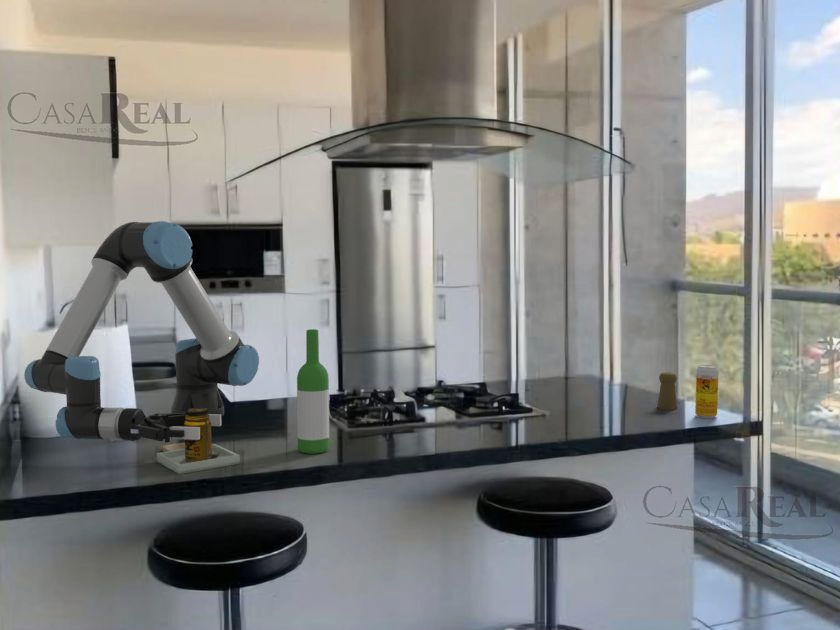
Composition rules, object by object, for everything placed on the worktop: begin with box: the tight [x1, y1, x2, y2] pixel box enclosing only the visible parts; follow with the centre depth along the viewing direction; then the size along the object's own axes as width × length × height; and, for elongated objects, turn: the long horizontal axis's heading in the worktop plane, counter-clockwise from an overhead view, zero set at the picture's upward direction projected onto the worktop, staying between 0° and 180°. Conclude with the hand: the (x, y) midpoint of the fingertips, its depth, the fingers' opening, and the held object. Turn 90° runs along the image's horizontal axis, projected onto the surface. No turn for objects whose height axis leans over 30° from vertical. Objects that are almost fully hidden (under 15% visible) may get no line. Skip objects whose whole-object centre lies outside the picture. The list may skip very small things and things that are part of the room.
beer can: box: [694, 364, 720, 419], centre depth 248 cm, size 6×6×15 cm
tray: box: [156, 443, 241, 475], centre depth 197 cm, size 15×14×2 cm
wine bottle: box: [296, 328, 330, 455], centre depth 207 cm, size 8×8×30 cm
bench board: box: [160, 442, 185, 452], centre depth 208 cm, size 9×8×2 cm
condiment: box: [181, 408, 220, 463], centre depth 198 cm, size 7×8×12 cm
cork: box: [656, 371, 678, 411], centre depth 261 cm, size 6×6×11 cm
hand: (210, 426), depth 196 cm, fingers open, 13 cm apart
